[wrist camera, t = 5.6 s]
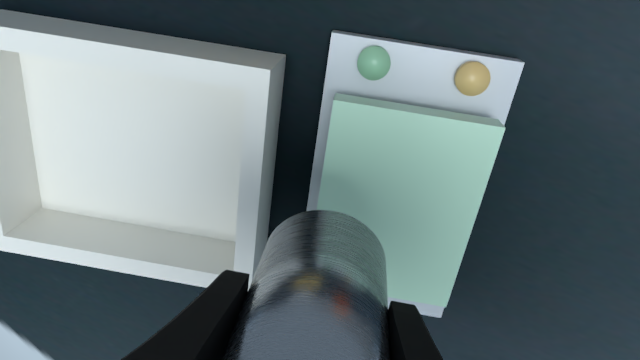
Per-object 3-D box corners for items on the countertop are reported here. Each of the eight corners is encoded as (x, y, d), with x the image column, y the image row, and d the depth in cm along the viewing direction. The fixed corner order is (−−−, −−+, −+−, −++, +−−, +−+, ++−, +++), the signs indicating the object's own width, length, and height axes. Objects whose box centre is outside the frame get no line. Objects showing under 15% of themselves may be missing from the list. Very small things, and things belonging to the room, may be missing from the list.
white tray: (265, 255, 22) (250, 295, 19) (35, 214, 22) (-12, 248, 20) (286, 54, 18) (270, 69, 15) (2, 9, 18) (-62, 16, 15)
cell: (370, 321, 14) (367, 567, 8) (257, 297, 14) (177, 524, 8) (399, 225, 13) (422, 445, 7) (272, 197, 13) (187, 392, 7)
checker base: (438, 306, 22) (441, 323, 21) (297, 281, 22) (293, 297, 21) (518, 58, 17) (528, 64, 16) (333, 29, 17) (330, 33, 16)
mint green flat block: (442, 292, 20) (446, 307, 19) (308, 268, 20) (305, 282, 19) (498, 119, 16) (505, 127, 16) (335, 92, 17) (333, 99, 16)
